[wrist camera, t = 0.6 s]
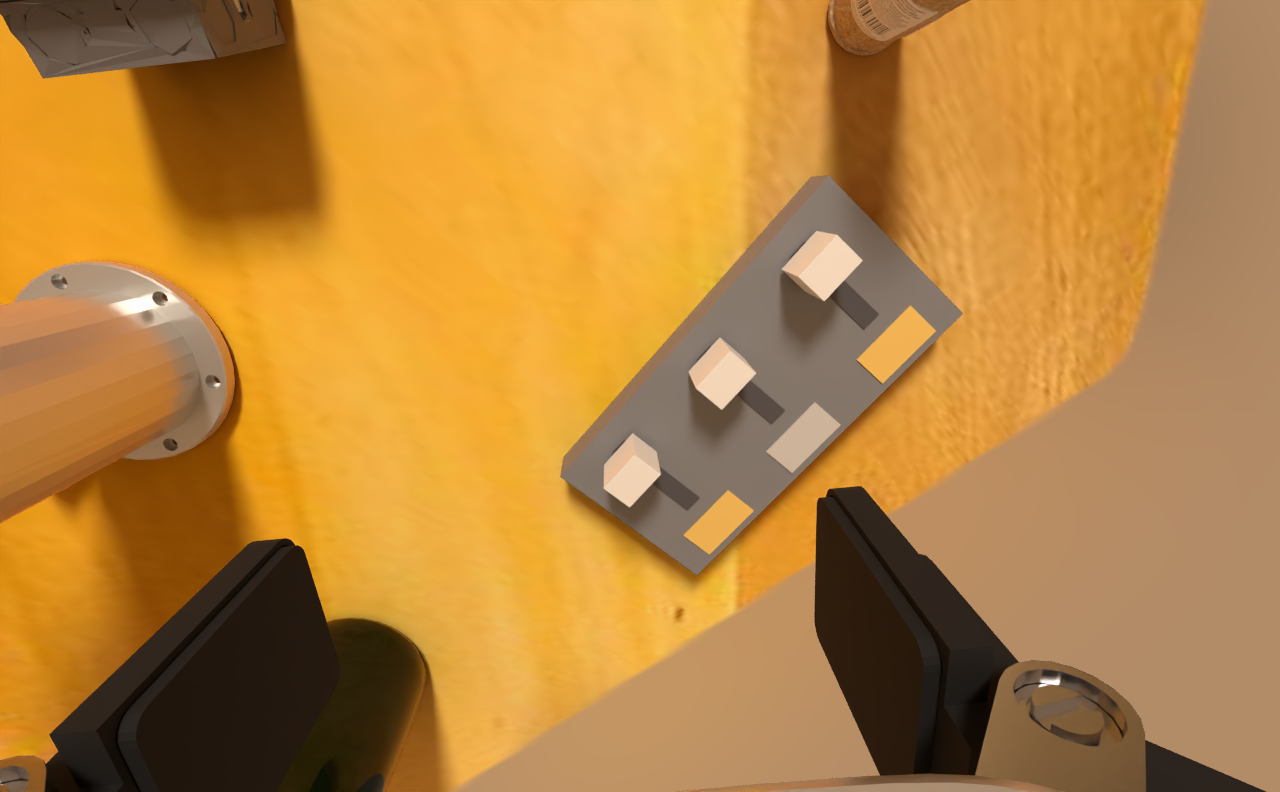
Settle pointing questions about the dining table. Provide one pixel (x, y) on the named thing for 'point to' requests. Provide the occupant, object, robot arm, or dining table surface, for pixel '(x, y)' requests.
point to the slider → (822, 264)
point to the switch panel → (764, 379)
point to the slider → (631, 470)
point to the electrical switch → (137, 31)
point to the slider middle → (721, 373)
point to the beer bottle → (362, 712)
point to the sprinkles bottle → (881, 21)
